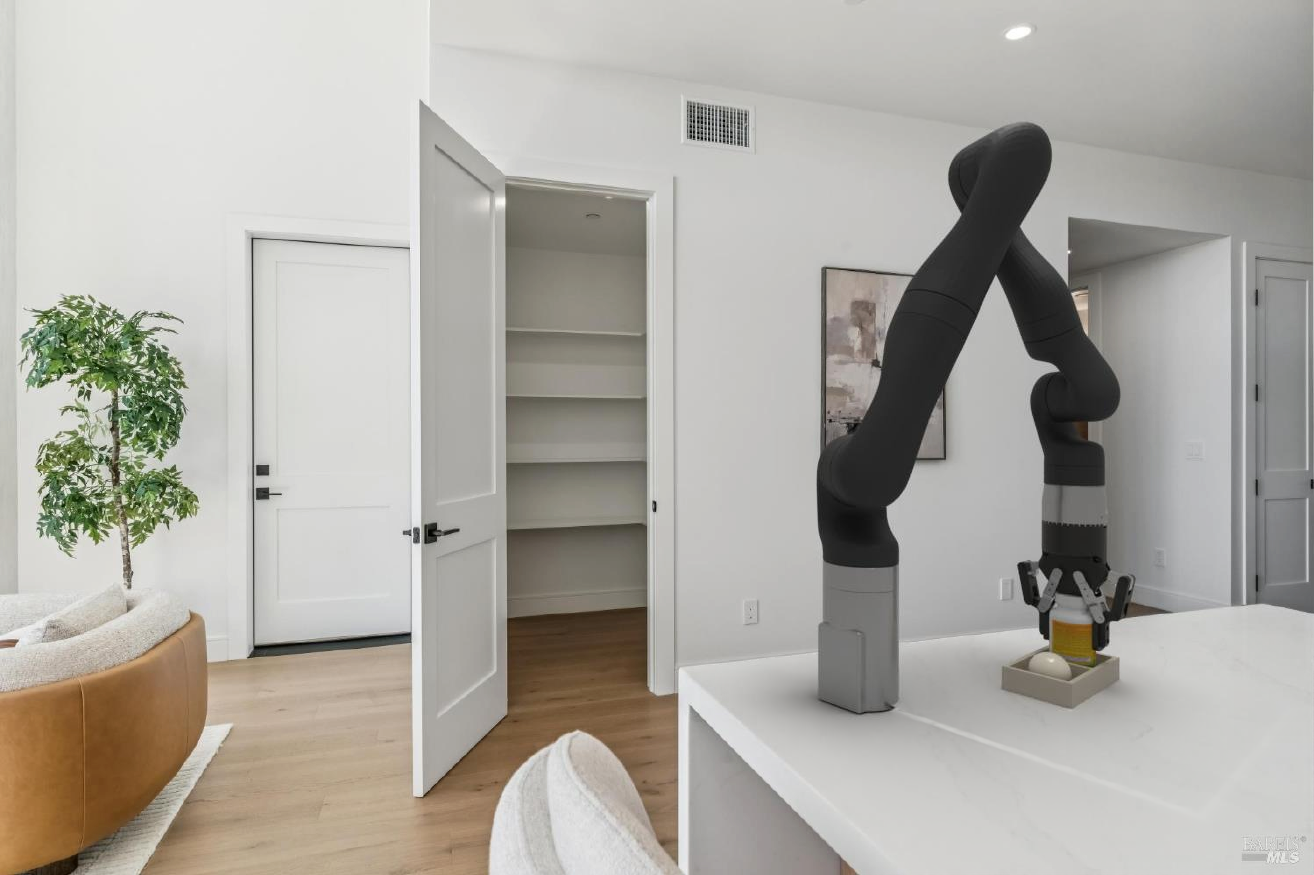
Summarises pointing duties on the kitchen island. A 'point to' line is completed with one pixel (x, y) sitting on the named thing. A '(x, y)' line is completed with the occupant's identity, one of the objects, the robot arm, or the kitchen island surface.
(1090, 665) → the supplement bottle
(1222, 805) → the kitchen island surface
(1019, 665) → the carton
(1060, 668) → the egg
